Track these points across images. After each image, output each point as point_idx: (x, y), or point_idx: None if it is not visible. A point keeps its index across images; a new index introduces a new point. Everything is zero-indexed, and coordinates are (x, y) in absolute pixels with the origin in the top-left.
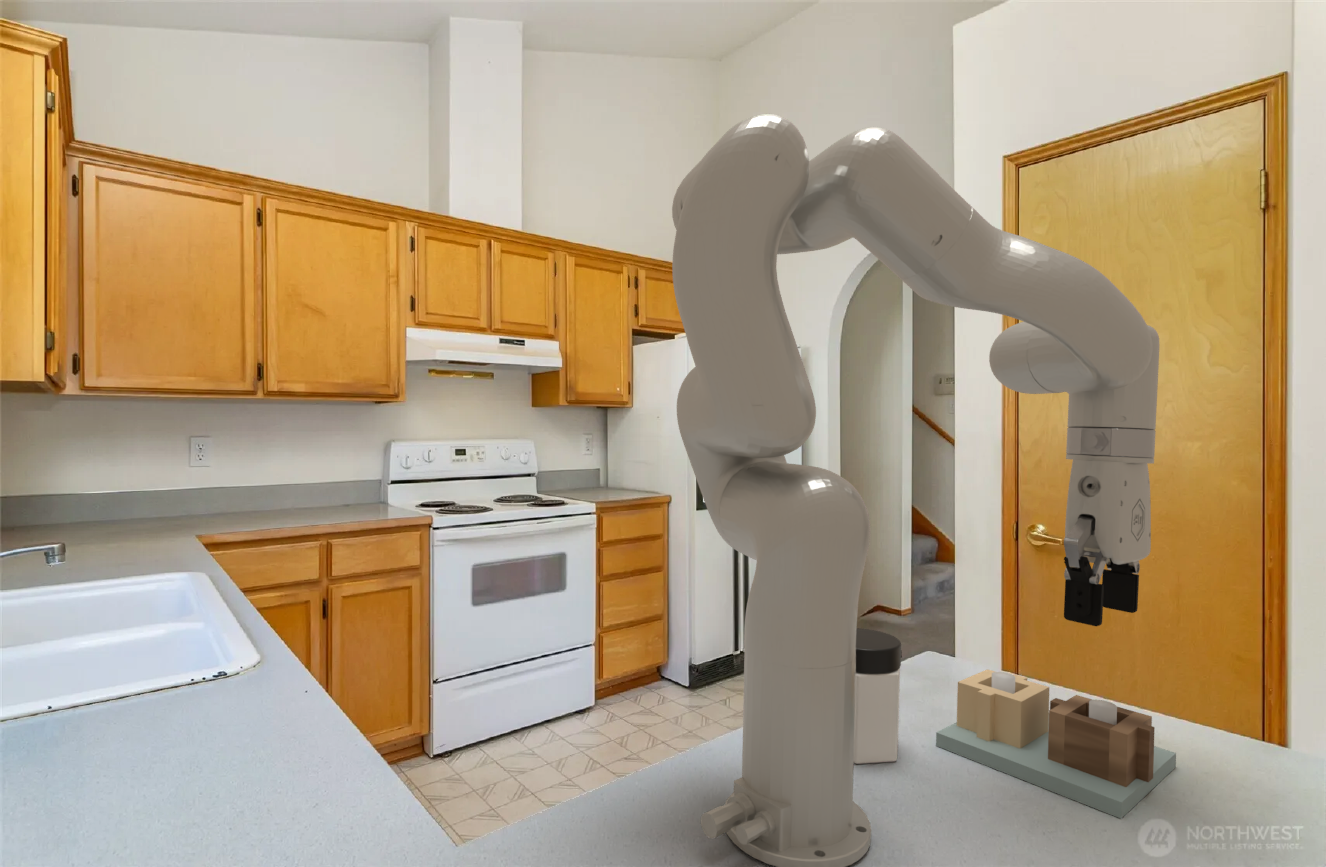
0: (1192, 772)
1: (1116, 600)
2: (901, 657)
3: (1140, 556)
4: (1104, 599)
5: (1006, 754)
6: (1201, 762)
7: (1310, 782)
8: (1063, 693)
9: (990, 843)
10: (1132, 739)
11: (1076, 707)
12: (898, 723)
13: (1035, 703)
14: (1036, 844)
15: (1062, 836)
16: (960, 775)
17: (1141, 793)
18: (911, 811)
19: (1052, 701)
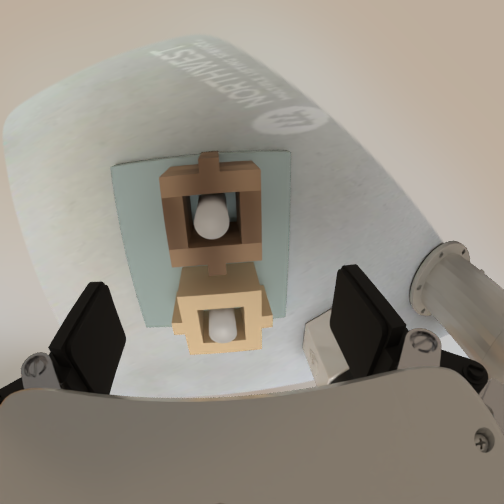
0: (113, 150)
1: (111, 328)
2: (349, 376)
3: (146, 410)
4: (120, 346)
5: (278, 262)
6: (82, 157)
7: (47, 90)
8: (58, 306)
9: (396, 204)
10: (238, 168)
11: (219, 247)
12: (321, 332)
13: (218, 287)
14: (378, 182)
15: (354, 173)
16: (319, 269)
17: (228, 152)
18: (393, 256)
19: (225, 272)
